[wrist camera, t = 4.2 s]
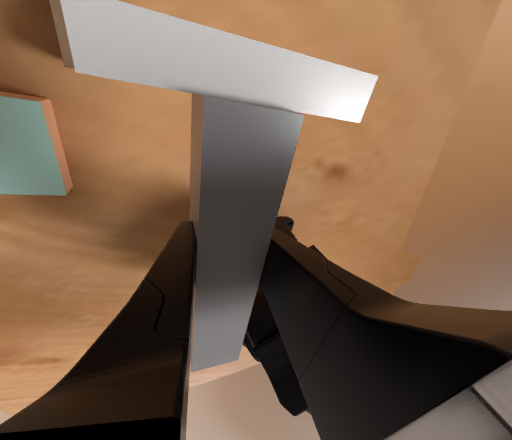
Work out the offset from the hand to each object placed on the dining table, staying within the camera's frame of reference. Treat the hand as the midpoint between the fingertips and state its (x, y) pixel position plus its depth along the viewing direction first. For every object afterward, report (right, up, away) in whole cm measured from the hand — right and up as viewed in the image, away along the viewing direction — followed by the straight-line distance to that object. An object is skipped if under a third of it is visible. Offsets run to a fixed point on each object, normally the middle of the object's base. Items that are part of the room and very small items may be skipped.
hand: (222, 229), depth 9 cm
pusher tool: (-1, 0, +1) cm, 2 cm away
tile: (-15, +6, +6) cm, 17 cm away
